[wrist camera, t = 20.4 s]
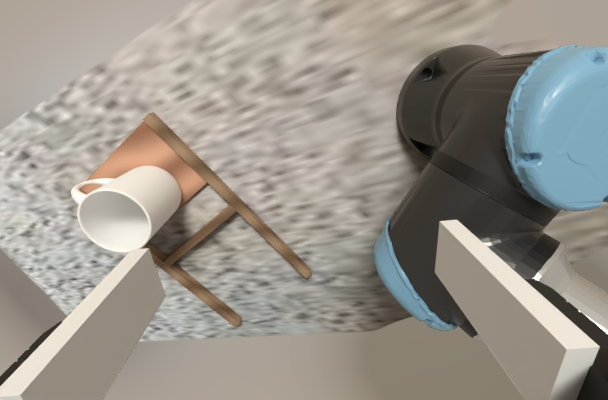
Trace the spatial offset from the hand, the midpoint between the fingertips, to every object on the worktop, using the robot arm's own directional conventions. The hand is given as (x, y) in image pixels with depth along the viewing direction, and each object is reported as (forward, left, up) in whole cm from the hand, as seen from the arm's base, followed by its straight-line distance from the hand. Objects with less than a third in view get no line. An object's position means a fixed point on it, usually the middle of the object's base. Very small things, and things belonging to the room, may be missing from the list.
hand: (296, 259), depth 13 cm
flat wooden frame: (+17, +14, -32) cm, 39 cm away
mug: (+24, +5, -31) cm, 40 cm away
